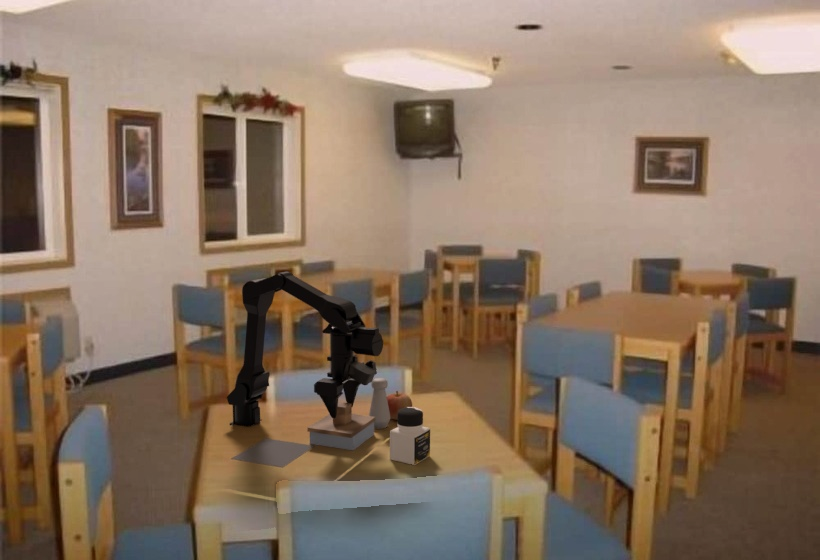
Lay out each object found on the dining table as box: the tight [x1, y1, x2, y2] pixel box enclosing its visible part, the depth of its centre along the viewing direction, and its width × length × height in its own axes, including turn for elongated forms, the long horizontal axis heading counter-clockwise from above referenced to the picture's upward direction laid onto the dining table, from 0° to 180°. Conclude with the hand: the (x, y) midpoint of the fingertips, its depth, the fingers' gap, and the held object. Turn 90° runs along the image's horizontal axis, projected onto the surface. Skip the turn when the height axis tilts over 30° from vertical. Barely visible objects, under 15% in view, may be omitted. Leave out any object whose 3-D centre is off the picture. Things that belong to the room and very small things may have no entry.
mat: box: [231, 438, 315, 468], centre depth 184 cm, size 14×15×1 cm
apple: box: [386, 390, 413, 421], centre depth 211 cm, size 8×8×8 cm
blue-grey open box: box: [309, 422, 375, 451], centre depth 193 cm, size 12×12×4 cm
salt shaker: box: [368, 377, 391, 430], centre depth 204 cm, size 6×6×13 cm
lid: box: [307, 401, 376, 438], centre depth 193 cm, size 12×14×6 cm
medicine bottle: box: [389, 406, 431, 466], centre depth 182 cm, size 7×7×12 cm
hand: (342, 412), depth 193 cm, fingers open, 9 cm apart
